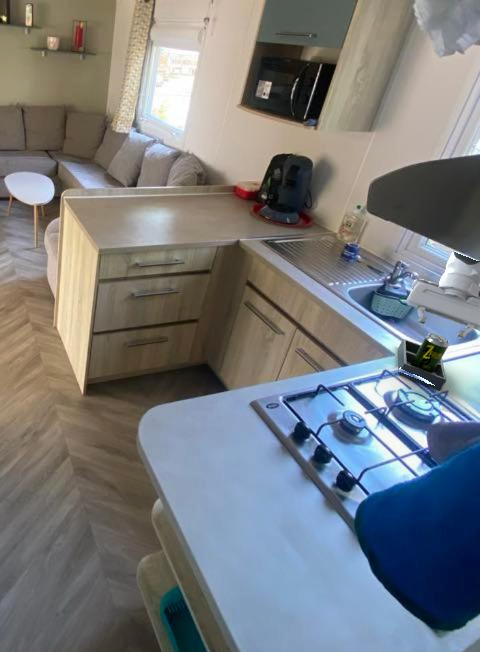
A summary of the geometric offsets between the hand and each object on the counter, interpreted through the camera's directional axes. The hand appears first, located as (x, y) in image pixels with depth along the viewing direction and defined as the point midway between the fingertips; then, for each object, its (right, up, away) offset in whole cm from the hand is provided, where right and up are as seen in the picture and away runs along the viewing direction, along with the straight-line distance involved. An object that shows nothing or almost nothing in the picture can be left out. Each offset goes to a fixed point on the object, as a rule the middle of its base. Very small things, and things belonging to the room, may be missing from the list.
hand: (440, 329), depth 121 cm
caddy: (-3, -12, +5) cm, 14 cm away
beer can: (-5, -13, +1) cm, 14 cm away
